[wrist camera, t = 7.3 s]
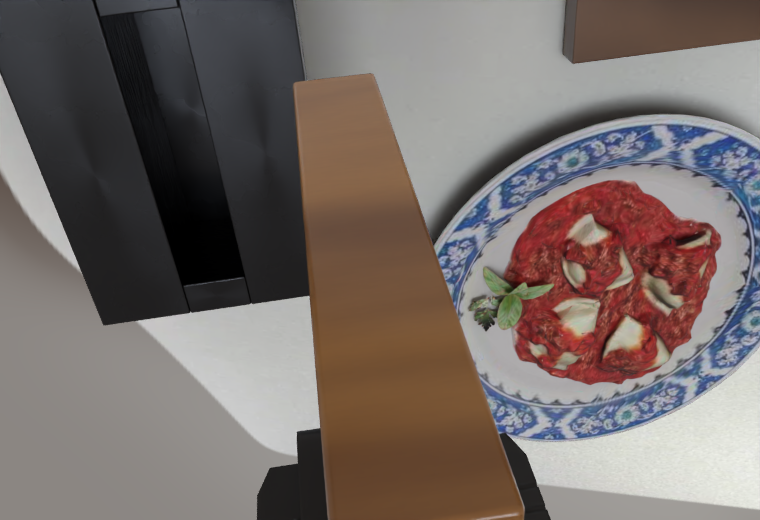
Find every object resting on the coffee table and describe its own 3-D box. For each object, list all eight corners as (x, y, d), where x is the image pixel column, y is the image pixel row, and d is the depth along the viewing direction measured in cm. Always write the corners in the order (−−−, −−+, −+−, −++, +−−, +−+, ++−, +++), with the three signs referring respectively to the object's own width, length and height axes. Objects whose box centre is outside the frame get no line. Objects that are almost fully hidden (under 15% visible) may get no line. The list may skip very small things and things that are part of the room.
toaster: (40, -111, 30) (-55, -58, 21) (275, -137, 31) (278, -96, 22) (140, 197, 39) (103, 326, 30) (321, 172, 40) (337, 291, 31)
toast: (292, 80, 14) (328, 542, 6) (373, 70, 14) (529, 511, 6) (343, 430, 19) (398, 907, 11) (400, 421, 20) (496, 888, 11)
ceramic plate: (872, 161, 44) (907, 184, 42) (656, 439, 57) (674, 469, 55) (505, 43, 37) (522, 63, 34) (354, 394, 50) (358, 426, 47)
